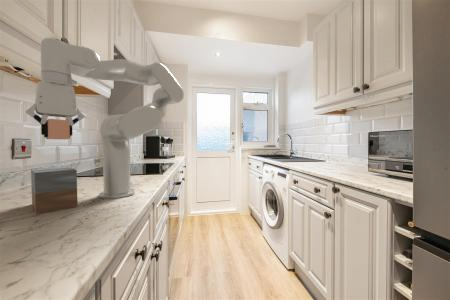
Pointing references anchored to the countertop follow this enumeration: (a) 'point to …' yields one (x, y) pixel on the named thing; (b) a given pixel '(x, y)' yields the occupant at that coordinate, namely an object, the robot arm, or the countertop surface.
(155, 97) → the robot arm
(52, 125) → the terracotta brick
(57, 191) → the shiny metal block
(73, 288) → the countertop surface
